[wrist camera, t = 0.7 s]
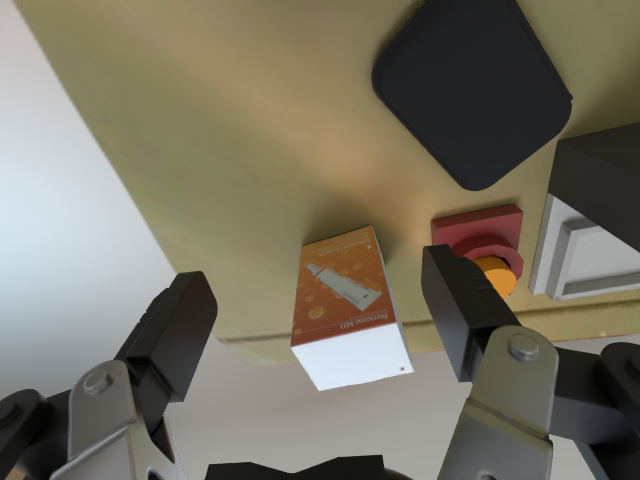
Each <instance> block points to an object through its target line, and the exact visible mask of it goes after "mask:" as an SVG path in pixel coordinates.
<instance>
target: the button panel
mask: <svg viewBox="0 0 640 480" xmlns="http://www.w3.org/2000/svg"><path fill="white" fill-rule="evenodd" d="M522 216H523V211H522V210H521V209H519V208H518V207H517V206H516V205H515V204H510V205H505V206H500V207H495V208H490V209H485V210H480V211H475V212H470V213H465V214H460V215H455V216H450V217H445V218H440V219H435V220H431V230H432V245H440V244H448V245H449V246H450V248H451V249H452V251H453V253H454V254H455V256H456V257H467V258H468V259H470V260H471V261H473V260H475V259H477V258H479V257H484V256H495V257H498V258H500V259H502V260H503V261H504V263H505V264H506V265H507V266H508V267H509V269H510V270H511V271H512V272H513V273H514V275H515V277H516V281H517V280H518V279H519V278H520V277H521V274H522V268H523V262H524V261H523V259H522V258H521V256H520V255H519V254H518V252H517V249H518V242H519V236H520V229H521V223H522ZM510 294H511V292H510V293H509V294H508V295H510Z"/></svg>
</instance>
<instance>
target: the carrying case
mask: <svg viewBox="0 0 640 480" xmlns="http://www.w3.org/2000/svg"><path fill="white" fill-rule="evenodd" d="M371 80H372V87H373V90H374V92H375V93H376V95H377V96H378V98H379V99H380V100H381V101H382V102H383V103H384V105H385V106H386V107H387V108H388V109H389V110H390V111H391V112H392V113H393V114H394V115H395V116H396V117H397V119H398V120H399V121H400V122H401V123H402V124H403V125H404V126H405V127H406V128H407V129H408V130H409V131H410V132H411V134H412V135H413V136H414V137H415V138H416V139H417V140H418V141H419V142H420V143H421V144H422V145H423V146H424V148H425V149H426V150H427V151H428V152H429V153H430V154H431V155H432V156H433V157H434V158H435V159H436V161H437V162H438V163H439V164H440V165H441V166H442V167H443V168H444V169H445V170H446V171H447V173H448V174H449V175H450V176H451V177H452V178H453V179H454V180H455V181H456V182H457V183H458V184H459V185H460V186H461V187H462V188H464V189H466V190H470V191H479V190H483V189H486V188H488V187H490V186H492V185H493V184H494V183H496V182H497V181H498V180H500V179H501V178H502V177H503V176H505V175H506V174H507V173H509V172H510V171H511V170H512V169H514V168H515V167H516V166H518V165H519V164H520V163H522V162H523V161H524V160H525V159H527V158H528V157H529V156H531V155H532V154H533V153H535V152H536V151H537V150H538V149H540V148H541V147H542V146H544V145H545V144H546V143H548V142H549V141H550V140H552V139H553V138H554V137H555V136H557V135H558V134H559V133H560V132H561V131H562V129H563V128H564V127H565V125H566V124H567V122H568V120H569V117H570V114H571V109H572V104H571V100H572V99H573V96H572V95H571V94H570V93H569V91H568V90H567V88H566V86H565V84H564V83H563V81H562V79H561V78H560V76H559V74H558V72H557V71H556V69H555V67H554V66H553V64H552V62H551V60H550V59H549V57H548V55H547V54H546V52H545V50H544V48H543V47H542V45H541V43H540V42H539V40H538V38H537V36H536V35H535V33H534V31H533V30H532V28H531V26H530V24H529V23H528V21H527V19H526V18H525V16H524V14H523V12H522V11H521V9H520V7H519V6H518V4H517V2H516V0H425V1H424V2H423V4H422V5H421V6H420V7H419V8H418V10H417V11H416V12H415V13H414V14H413V15H412V17H411V18H410V19H409V20H408V21H407V22H406V24H405V25H404V26H403V27H402V28H401V30H400V31H399V32H398V33H397V34H396V35H395V37H394V38H393V39H392V40H391V41H390V43H389V44H388V45H387V46H386V47H385V48H384V50H383V51H382V52H381V53H380V54H379V56H378V57H377V59H376V61H375V63H374V65H373V69H372V75H371Z"/></svg>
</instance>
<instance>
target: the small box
mask: <svg viewBox="0 0 640 480" xmlns="http://www.w3.org/2000/svg"><path fill="white" fill-rule="evenodd" d="M290 347H291V349H292V351H293V352H294V354H295V355H296V357H297V358H298V360H299V361H300V363H301V364H302V366H303V367H304V369H305V370H306V372H307V373H308V375H309V376H310V378H311V379H312V381H313V383H314V384H315V386H316V387H317V389H318V390H319V391H321V390H326V389H331V388H337V387H341V386H347V385H353V384H361V383H367V382H371V381H375V380H378V379H382V378H386V377H391V376H396V375H401V374H406V373H411V372H414V371H415V370H414V366H413V363H412V359H411V355H410V352H409V348H408V344H407V341H406V337H405V334H404V330H403V326H402V323H401V319H400V315H399V312H398V308H397V304H396V301H395V297H394V293H393V290H392V286H391V283H390V280H389V276H388V273H387V269H386V266H385V263H384V260H383V257H382V254H381V251H380V247H379V244H378V241H377V238H376V235H375V232H374V229H373V226H372V225H368V226H366V227H363V228H360V229H357V230H354V231H351V232H348V233H345V234H342V235H338V236H335V237H332V238H329V239H325V240H322V241H319V242H315V243H312V244H308V245H305V246H302V248H301V255H300V264H299V272H298V282H297V291H296V300H295V309H294V317H293V327H292V335H291V345H290Z"/></svg>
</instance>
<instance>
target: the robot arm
mask: <svg viewBox="0 0 640 480" xmlns="http://www.w3.org/2000/svg"><path fill="white" fill-rule="evenodd" d="M421 285H422V291H423V295H424V298H425V301H426V303H427V306H428V308H429V310H430V313H431V315H432V318H433V320H434V323H435V325H436V328H437V330H438V333H439V335H440V337H441V340H442V342H443V345H444V347H445V350H446V352H447V355H448V357H449V359H450V362H451V364H452V367H453V369H454V372H455V374H456V376H457V379H458V381H459V382H472V384H473V386H472V389H471V392H470V395H469V397H468V398H467V399H466V401H465V404H464V406H463V409H462V412H461V414H460V417H459V420H458V423H457V425H456V428H455V431H454V434H453V437H452V439H451V442H450V445H449V448H448V450H447V453H446V456H445V459H444V462H443V464H442V467H441V470H440V473H439V476H438V478H437V480H550V475H551V466H552V458H553V442H552V441H551V440H550V439H549V434H552V435H556V436H560V437H563V438H567V439H571V440H573V441H574V442H575V444H576V446H577V447H578V449H579V451H580V453H581V455H582V456H583V458H584V460H585V461H586V463H587V465H588V467H589V468H590V470H591V472H592V473H593V475H594V477H595V479H596V480H640V345H637V344H633V343H627V342H618V343H612V344H609V345H607V346H606V347H605V348H604V349H603V350H602V352H601V354H600V355H597V354H592V353H586V352H580V351H574V350H568V349H563V348H559V347H555V346H553V344H552V343H551V342H550V341H549V340H548V339H547V338H545V337H544V336H543V335H541V334H540V333H538V332H536V331H534V330H532V329H529V328H526V327H523V326H522V325H521V324H520V322H519V321H518V319H517V318H516V317H515V315H514V314H513V312H512V311H511V310H510V308H509V307H508V305H507V304H506V303H505V301H504V300H503V299H502V297H501V296H500V294H499V293H498V292H497V290H496V289H495V288H494V287H493V285H492V283H491V282H490V280H489V279H487V276H486V275H485V273H484V272H483V271H482V269H481V268H480V267H479V265H477V264H476V263H474V262H473V261H471V260H470V259H468V258H467V257H456V256H455V254H454V253H453V251H452V249H451V248H450V246H449V245H448V244H440V245H431V246H424V248H423V257H422V275H421ZM217 311H218V308H217V302H216V299H215V297H214V295H213V293H212V290H211V288H210V286H209V284H208V282H207V279H206V277H205V275H204V274H203V272H201V271H194V272H185V273H179V274H178V275H177V276H176V277H175V279H174V280H173V282H172V283H171V285H170V287H169V288H166V289H165V290H163V291H162V292H161V293H160V294H159V295H158V296H157V297H156V298H154V300H153V301H152V303H151V304H150V306H149V307H148V309H147V310H146V313H144V314H143V316H142V317H141V319H140V323H137V325H136V326H135V328H134V329H133V331H132V332H131V334H130V335H129V337H128V338H127V340H126V342H125V343H124V344H123V346H122V347H121V349H120V350H119V352H118V353H117V355H116V357H115V358H114V359H113V360H110V361H106V362H104V363H101V364H99V365H97V366H95V367H94V368H92V369H91V370H89V371H88V372H87V373H86V374H84V375H83V376H82V377H81V378H80V379H79V380H78V382H77V383H76V384H75V385H74V387H73V388H72V389H70V390H68V391H65V392H62V393H59V394H56V395H53V396H51V397H48V398H44V397H43V396H42V395H41V394H40V393H38V392H37V391H36V390H34V389H25V390H21V391H18V392H16V393H13V394H11V395H9V396H7V397H6V398H4V399H2V400H1V401H0V480H5V479H6V477H7V476H8V474H9V473H10V471H11V470H12V469H13V468H15V469H17V470H19V471H20V472H22V473H23V474H25V475H26V476H25V477H24V479H23V480H188V479H187V477H186V475H185V473H184V471H183V468H182V465H181V462H180V458H179V455H178V451H177V448H176V444H175V441H174V437H173V434H172V430H171V427H170V423H169V420H168V417H167V414H166V413H165V412H164V411H165V409H166V407H167V404H168V403H170V402H183V401H184V398H185V396H186V393H187V391H188V388H189V386H190V383H191V381H192V378H193V376H194V373H195V370H196V368H197V365H198V363H199V360H200V358H201V355H202V353H203V350H204V347H205V345H206V342H207V340H208V337H209V335H210V332H211V330H212V327H213V325H214V322H215V320H216V317H217ZM205 480H413V479H411V478H409V477H407V476H406V475H403V474H401V473H399V472H396V471H394V470H391V469H387V468H384V464H383V456H382V455H369V456H351V457H337V458H335V459H332V460H329V461H326V462H324V463H321V464H319V465H316V466H313V467H310V468H308V469H305V470H302V471H300V472H297V473H287V472H283V471H279V470H276V469H273V468H269V467H266V466H262V465H259V464H255V463H252V462H242V463H224V464H209V467H208V470H207V474H206V477H205Z"/></svg>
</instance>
